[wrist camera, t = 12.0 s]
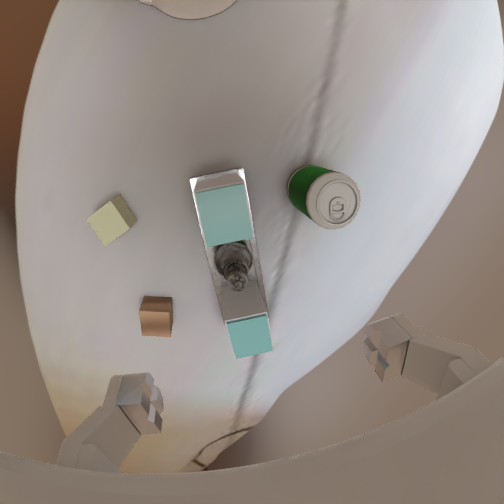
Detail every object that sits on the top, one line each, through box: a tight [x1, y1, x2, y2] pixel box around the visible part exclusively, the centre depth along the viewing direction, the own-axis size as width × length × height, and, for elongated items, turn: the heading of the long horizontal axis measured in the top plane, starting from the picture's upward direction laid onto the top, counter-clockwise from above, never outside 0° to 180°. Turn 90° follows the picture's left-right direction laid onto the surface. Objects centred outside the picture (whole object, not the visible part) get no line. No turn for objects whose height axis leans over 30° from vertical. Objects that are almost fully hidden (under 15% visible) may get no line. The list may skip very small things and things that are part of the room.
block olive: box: [87, 195, 137, 246], centre depth 41 cm, size 5×5×5 cm
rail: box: [190, 168, 269, 324], centre depth 47 cm, size 26×8×2 cm, turn 10°
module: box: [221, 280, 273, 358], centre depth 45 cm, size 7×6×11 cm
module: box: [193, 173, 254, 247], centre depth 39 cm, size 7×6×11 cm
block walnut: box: [139, 296, 173, 337], centre depth 48 cm, size 5×5×5 cm
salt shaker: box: [214, 240, 253, 292], centre depth 41 cm, size 6×6×12 cm
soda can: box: [287, 166, 360, 229], centre depth 40 cm, size 8×8×12 cm
